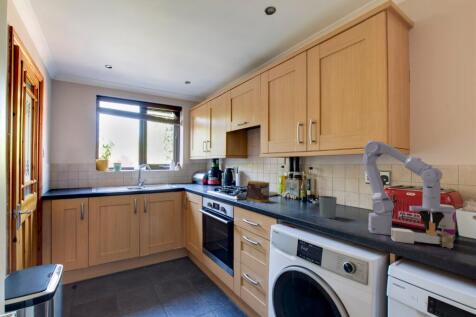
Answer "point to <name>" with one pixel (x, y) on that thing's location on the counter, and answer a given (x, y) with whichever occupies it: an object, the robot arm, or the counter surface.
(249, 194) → the supplement box
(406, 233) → the white rectangular block
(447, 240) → the oak socket
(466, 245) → the counter surface
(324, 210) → the grey tapered cup
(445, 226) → the supplement can
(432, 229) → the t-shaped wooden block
